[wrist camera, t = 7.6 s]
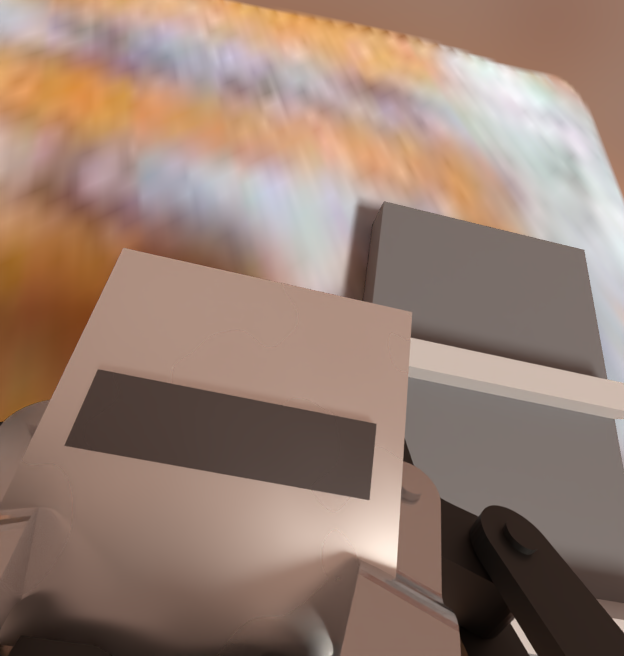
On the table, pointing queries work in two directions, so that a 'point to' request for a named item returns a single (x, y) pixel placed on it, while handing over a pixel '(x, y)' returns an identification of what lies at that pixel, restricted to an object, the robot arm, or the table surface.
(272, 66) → the table surface
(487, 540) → the robot arm
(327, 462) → the block
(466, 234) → the plate
